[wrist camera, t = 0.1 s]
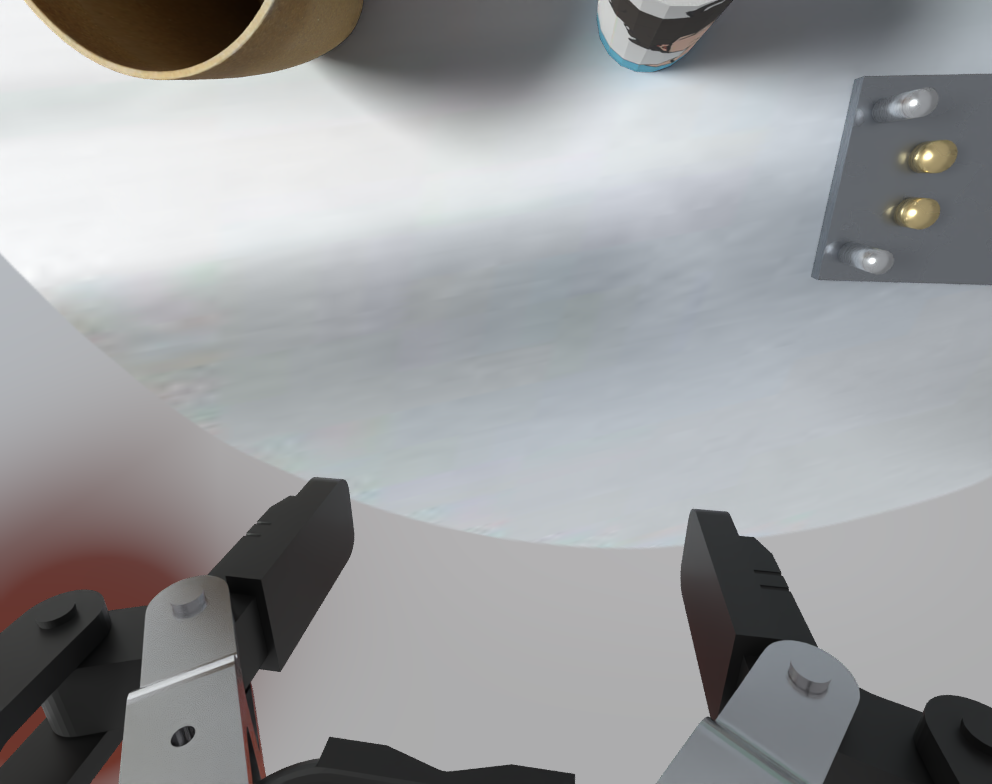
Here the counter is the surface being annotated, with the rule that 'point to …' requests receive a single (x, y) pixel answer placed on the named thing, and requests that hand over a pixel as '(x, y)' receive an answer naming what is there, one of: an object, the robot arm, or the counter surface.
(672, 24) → the printed cylinder
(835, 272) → the chassis
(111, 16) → the plant pot
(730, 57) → the counter surface
